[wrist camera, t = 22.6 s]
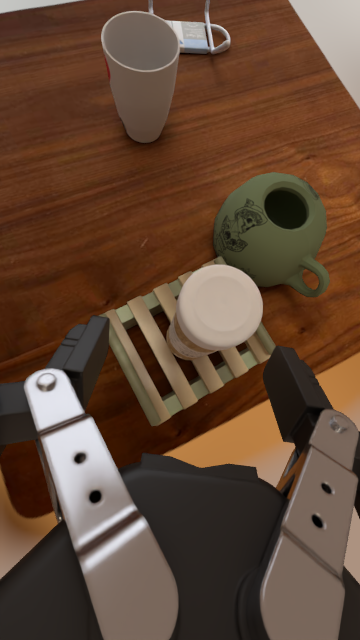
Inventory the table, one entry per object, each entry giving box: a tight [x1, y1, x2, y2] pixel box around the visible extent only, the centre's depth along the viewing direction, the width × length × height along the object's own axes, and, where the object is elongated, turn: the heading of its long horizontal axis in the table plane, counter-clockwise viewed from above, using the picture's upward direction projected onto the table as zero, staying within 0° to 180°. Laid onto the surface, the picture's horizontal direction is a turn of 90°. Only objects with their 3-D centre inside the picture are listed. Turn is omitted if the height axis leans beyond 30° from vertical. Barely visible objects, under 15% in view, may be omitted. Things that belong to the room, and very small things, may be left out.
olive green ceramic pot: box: [213, 172, 330, 297], centre depth 31 cm, size 16×13×9 cm
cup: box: [101, 11, 180, 143], centre depth 32 cm, size 8×8×10 cm
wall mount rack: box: [149, 0, 230, 54], centre depth 38 cm, size 16×14×6 cm
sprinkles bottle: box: [166, 265, 263, 360], centre depth 20 cm, size 5×5×13 cm
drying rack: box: [99, 256, 276, 426], centre depth 28 cm, size 14×12×6 cm
